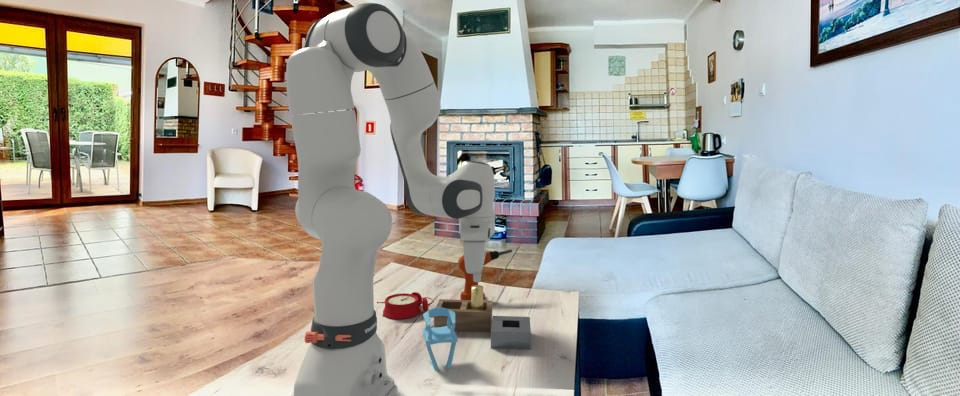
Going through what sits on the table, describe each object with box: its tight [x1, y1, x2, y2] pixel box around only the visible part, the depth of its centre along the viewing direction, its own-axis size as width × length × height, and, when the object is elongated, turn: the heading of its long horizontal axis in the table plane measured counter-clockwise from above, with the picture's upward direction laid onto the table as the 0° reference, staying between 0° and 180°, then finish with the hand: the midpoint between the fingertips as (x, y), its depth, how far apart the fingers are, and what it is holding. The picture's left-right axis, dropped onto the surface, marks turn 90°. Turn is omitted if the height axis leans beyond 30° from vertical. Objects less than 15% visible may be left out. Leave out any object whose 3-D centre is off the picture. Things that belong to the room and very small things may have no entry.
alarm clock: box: [376, 291, 435, 320], centre depth 126 cm, size 10×6×15 cm
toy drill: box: [457, 248, 513, 300], centre depth 137 cm, size 5×19×15 cm, turn 115°
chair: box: [422, 306, 458, 371], centre depth 96 cm, size 8×8×12 cm
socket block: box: [490, 315, 532, 351], centre depth 106 cm, size 9×9×5 cm
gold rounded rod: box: [471, 284, 484, 310], centre depth 114 cm, size 3×3×10 cm
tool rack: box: [433, 298, 493, 333], centre depth 114 cm, size 8×14×6 cm, turn 85°
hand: (477, 280), depth 113 cm, fingers closed
